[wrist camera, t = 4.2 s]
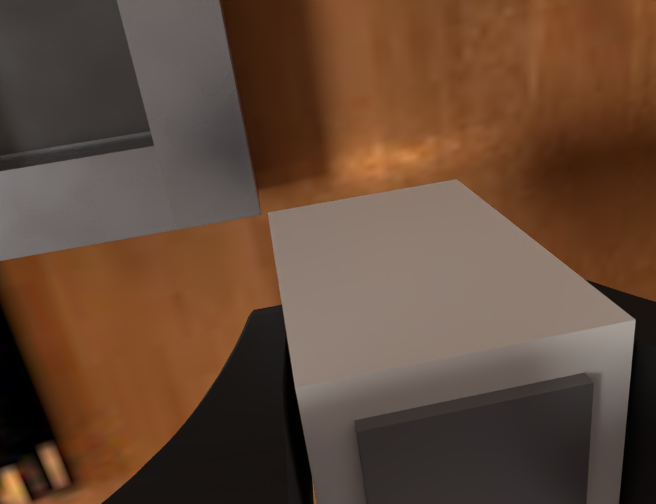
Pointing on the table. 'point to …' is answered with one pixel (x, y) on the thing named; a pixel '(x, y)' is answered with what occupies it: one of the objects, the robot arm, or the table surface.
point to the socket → (117, 122)
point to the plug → (448, 355)
